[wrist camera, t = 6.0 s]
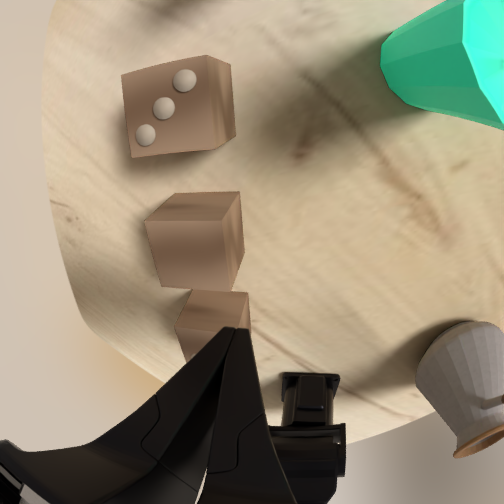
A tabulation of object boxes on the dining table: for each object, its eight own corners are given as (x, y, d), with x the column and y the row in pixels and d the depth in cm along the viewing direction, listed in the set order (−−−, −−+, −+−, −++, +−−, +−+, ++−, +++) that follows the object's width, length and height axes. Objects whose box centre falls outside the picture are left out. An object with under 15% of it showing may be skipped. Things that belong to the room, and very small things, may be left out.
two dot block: (251, 331, 27) (241, 373, 23) (201, 326, 28) (185, 365, 24) (248, 292, 24) (235, 335, 20) (192, 287, 25) (171, 327, 21)
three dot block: (236, 135, 18) (213, 149, 13) (166, 142, 19) (128, 159, 14) (230, 64, 15) (205, 54, 11) (159, 76, 16) (117, 75, 12)
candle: (366, 81, 14) (465, 67, 4) (394, 12, 11) (490, -55, 1) (440, 126, 14) (566, 184, 4) (465, 60, 11) (592, 65, 1)
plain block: (244, 252, 22) (230, 291, 18) (185, 249, 23) (161, 286, 19) (239, 191, 20) (221, 220, 16) (175, 192, 21) (144, 221, 16)
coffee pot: (484, 359, 25) (513, 455, 12) (408, 384, 28) (421, 492, 16) (515, 207, 16) (619, 325, 3) (407, 238, 19) (485, 418, 7)
